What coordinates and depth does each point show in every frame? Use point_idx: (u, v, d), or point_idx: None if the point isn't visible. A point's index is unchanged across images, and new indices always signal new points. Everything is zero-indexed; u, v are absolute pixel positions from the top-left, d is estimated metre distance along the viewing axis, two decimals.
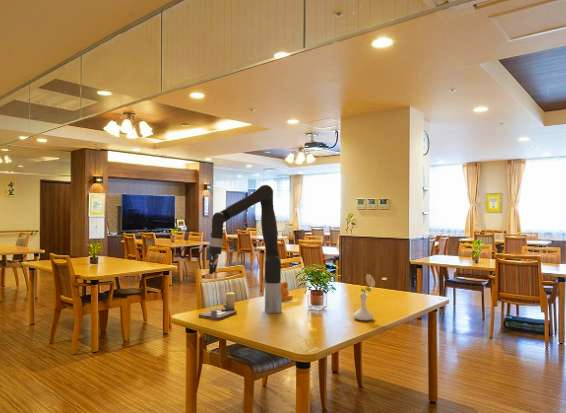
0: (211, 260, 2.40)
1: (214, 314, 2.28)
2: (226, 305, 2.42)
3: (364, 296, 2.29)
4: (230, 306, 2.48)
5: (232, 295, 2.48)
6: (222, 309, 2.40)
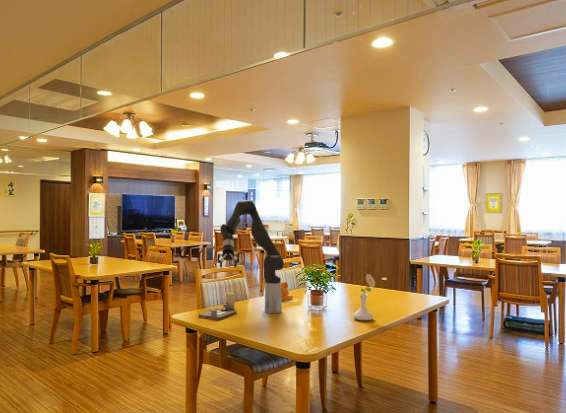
0: None
1: (214, 314, 2.28)
2: (226, 305, 2.42)
3: (364, 296, 2.29)
4: (230, 306, 2.48)
5: (232, 295, 2.48)
6: (222, 309, 2.40)
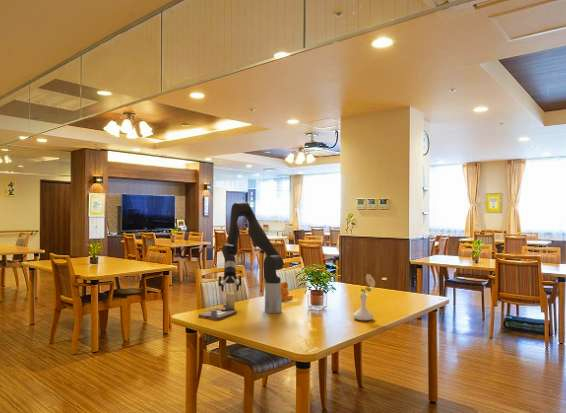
0: None
1: (214, 314, 2.28)
2: (226, 305, 2.42)
3: (364, 296, 2.29)
4: (230, 306, 2.48)
5: (232, 295, 2.48)
6: (222, 309, 2.40)
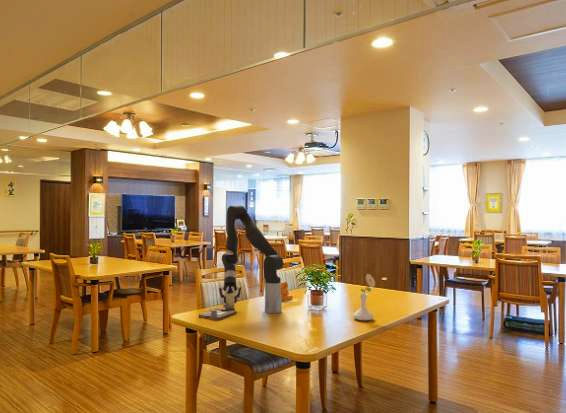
0: (219, 292, 2.53)
1: (214, 314, 2.28)
2: (226, 305, 2.42)
3: (364, 296, 2.29)
4: (230, 306, 2.48)
5: (232, 295, 2.48)
6: (222, 309, 2.40)
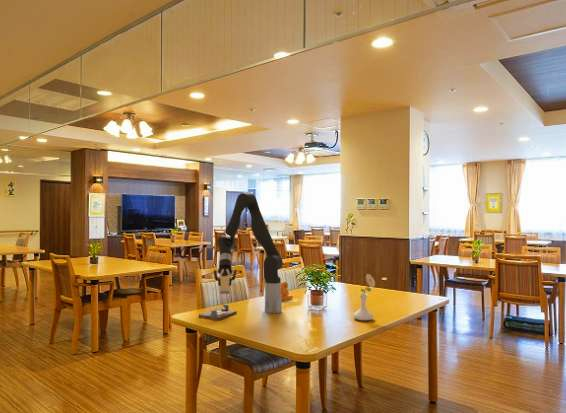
0: (214, 274, 2.47)
1: (214, 314, 2.28)
2: (226, 305, 2.42)
3: (364, 296, 2.29)
4: (225, 288, 2.42)
5: (227, 277, 2.42)
6: (222, 309, 2.40)
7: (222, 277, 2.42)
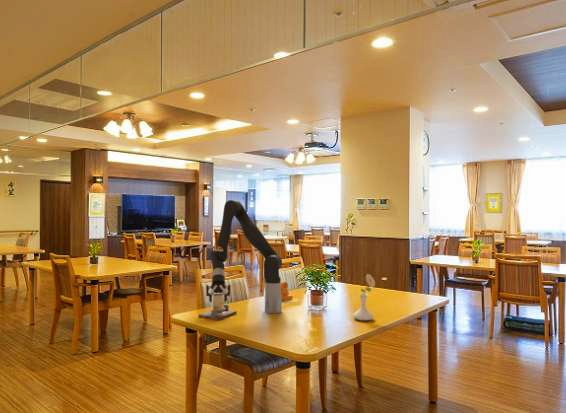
0: (206, 289, 2.40)
1: (214, 314, 2.28)
2: (226, 305, 2.42)
3: (364, 296, 2.29)
4: (218, 308, 2.34)
5: (220, 297, 2.34)
6: (222, 309, 2.40)
7: (215, 296, 2.34)
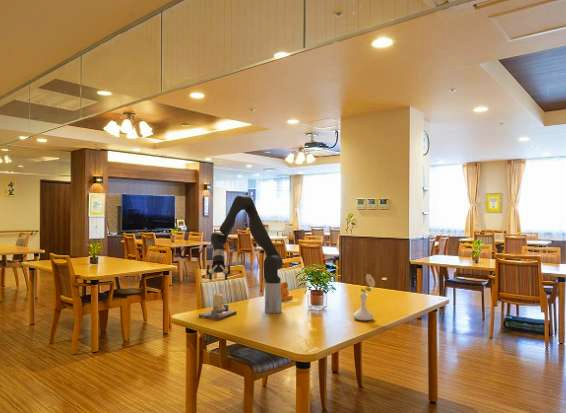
0: None
1: (214, 314, 2.28)
2: (226, 305, 2.42)
3: (364, 296, 2.29)
4: (218, 308, 2.34)
5: (220, 297, 2.34)
6: (222, 309, 2.40)
7: (215, 296, 2.34)
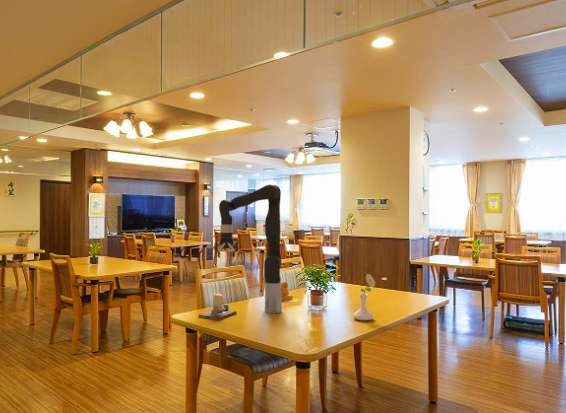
0: (215, 244, 2.59)
1: (214, 314, 2.28)
2: (226, 305, 2.42)
3: (364, 296, 2.29)
4: (218, 308, 2.34)
5: (220, 297, 2.34)
6: (222, 309, 2.40)
7: (215, 296, 2.34)
